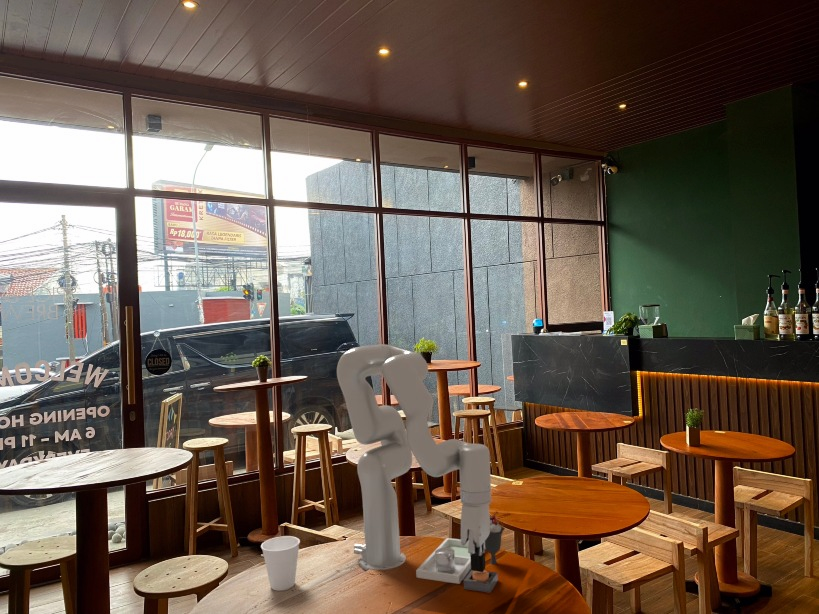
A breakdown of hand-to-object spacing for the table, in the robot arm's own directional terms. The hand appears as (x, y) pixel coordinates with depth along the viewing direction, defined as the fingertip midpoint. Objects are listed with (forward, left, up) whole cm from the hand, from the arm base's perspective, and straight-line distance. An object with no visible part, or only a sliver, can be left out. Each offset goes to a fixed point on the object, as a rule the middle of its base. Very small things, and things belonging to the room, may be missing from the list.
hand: (478, 569), depth 146 cm
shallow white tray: (-10, +10, -5) cm, 15 cm away
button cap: (+1, 0, -3) cm, 3 cm away
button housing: (+1, 0, -5) cm, 5 cm away
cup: (-48, -14, -5) cm, 51 cm away
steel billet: (-10, +4, -4) cm, 12 cm away
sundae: (0, +13, -5) cm, 14 cm away
